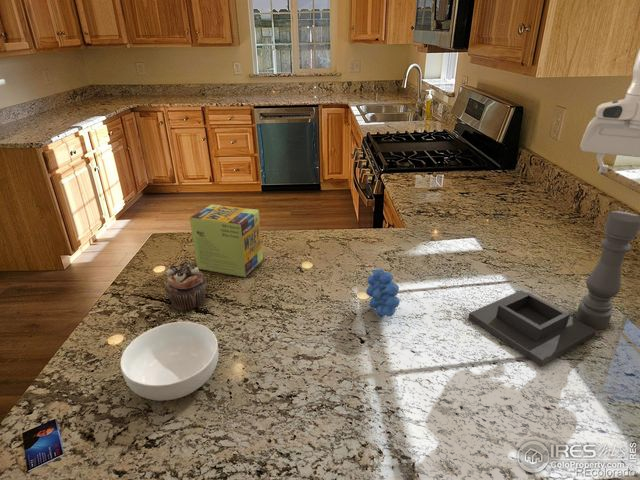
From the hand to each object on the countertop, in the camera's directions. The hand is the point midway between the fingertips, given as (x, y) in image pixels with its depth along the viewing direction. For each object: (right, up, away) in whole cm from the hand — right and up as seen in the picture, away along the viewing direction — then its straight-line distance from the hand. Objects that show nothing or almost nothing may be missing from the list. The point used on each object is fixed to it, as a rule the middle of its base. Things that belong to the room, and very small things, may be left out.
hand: (627, 176), depth 91 cm
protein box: (-91, -20, +29) cm, 97 cm away
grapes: (-51, -31, +7) cm, 60 cm away
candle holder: (-6, -32, +4) cm, 32 cm away
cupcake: (-98, -28, +12) cm, 102 cm away
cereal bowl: (-93, -40, -11) cm, 101 cm away
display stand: (-20, -32, +2) cm, 38 cm away
